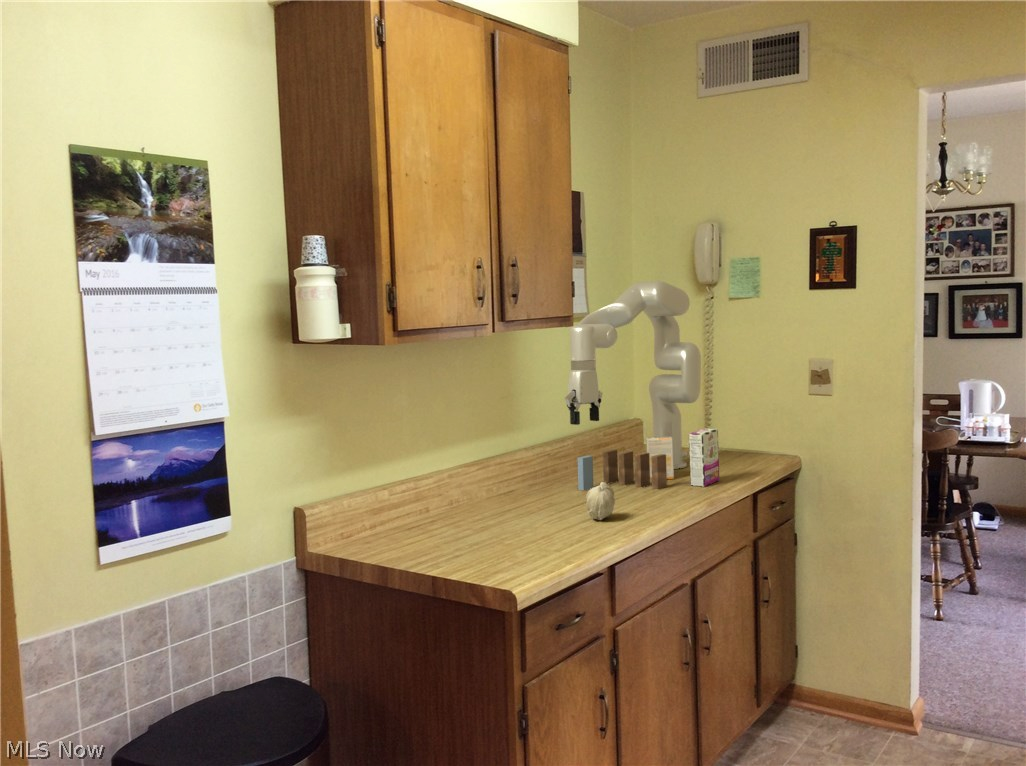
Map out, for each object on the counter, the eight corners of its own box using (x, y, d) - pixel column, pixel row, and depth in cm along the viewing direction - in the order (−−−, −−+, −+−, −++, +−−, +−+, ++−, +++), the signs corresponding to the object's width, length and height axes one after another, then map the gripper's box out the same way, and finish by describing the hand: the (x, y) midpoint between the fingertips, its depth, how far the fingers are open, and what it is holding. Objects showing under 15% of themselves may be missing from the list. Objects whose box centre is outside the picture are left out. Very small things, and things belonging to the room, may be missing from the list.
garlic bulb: (609, 514, 239) (608, 477, 238) (625, 520, 231) (624, 482, 230) (578, 518, 235) (576, 481, 235) (592, 525, 227) (591, 486, 227)
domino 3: (619, 485, 277) (618, 453, 276) (628, 482, 281) (627, 450, 280) (624, 485, 276) (623, 453, 275) (633, 482, 279) (633, 451, 279)
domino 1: (578, 490, 271) (577, 457, 271) (588, 487, 275) (587, 455, 274) (583, 491, 270) (582, 458, 269) (593, 488, 274) (592, 455, 273)
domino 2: (603, 483, 281) (602, 451, 280) (613, 480, 285) (612, 449, 284) (608, 483, 280) (607, 452, 279) (618, 481, 283) (617, 449, 283)
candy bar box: (705, 479, 280) (704, 427, 279) (720, 481, 277) (719, 428, 276) (689, 486, 272) (687, 432, 270) (704, 487, 269) (703, 433, 267)
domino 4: (635, 487, 273) (634, 454, 272) (644, 484, 277) (643, 452, 276) (641, 487, 272) (640, 455, 271) (650, 484, 275) (649, 452, 275)
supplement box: (672, 476, 287) (671, 436, 286) (674, 479, 282) (673, 438, 281) (646, 477, 288) (645, 437, 287) (647, 480, 283) (646, 439, 282)
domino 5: (652, 489, 269) (651, 456, 268) (661, 486, 273) (660, 453, 272) (657, 489, 268) (657, 456, 267) (666, 487, 271) (666, 454, 271)
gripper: (590, 364, 278) (591, 418, 280) (555, 368, 265) (557, 425, 267) (610, 364, 273) (611, 420, 275) (575, 368, 260) (577, 426, 262)
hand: (584, 422), depth 271 cm, fingers open, 9 cm apart
